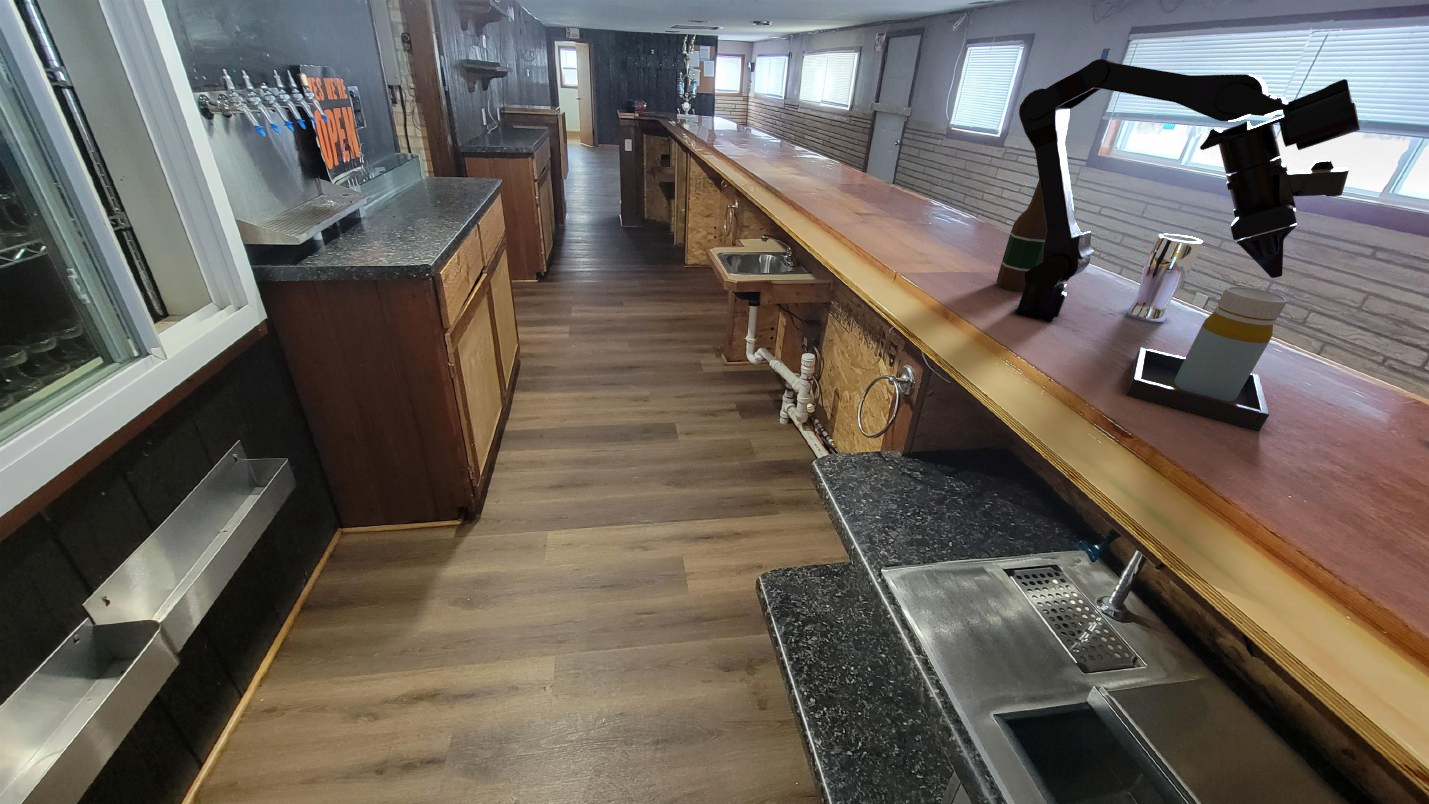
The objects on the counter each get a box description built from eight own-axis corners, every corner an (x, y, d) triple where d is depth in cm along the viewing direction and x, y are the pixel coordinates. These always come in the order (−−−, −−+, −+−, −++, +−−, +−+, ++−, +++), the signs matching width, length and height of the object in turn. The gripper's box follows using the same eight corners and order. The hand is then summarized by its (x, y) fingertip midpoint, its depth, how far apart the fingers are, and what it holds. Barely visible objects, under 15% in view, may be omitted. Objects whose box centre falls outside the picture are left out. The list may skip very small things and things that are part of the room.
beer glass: (1153, 311, 111) (1188, 234, 104) (1175, 324, 105) (1213, 244, 98) (1117, 309, 112) (1149, 232, 104) (1136, 321, 106) (1171, 241, 98)
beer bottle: (1036, 285, 123) (1075, 168, 111) (1032, 295, 117) (1073, 172, 105) (998, 278, 127) (1032, 164, 115) (992, 287, 121) (1028, 167, 109)
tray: (1126, 395, 79) (1133, 379, 78) (1133, 361, 90) (1140, 347, 89) (1259, 431, 72) (1269, 414, 71) (1250, 390, 82) (1259, 375, 81)
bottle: (1219, 390, 81) (1275, 289, 73) (1240, 413, 75) (1304, 307, 68) (1163, 381, 83) (1212, 282, 75) (1180, 403, 77) (1235, 298, 69)
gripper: (1340, 142, 68) (1366, 265, 70) (1332, 134, 80) (1355, 239, 82) (1218, 182, 76) (1245, 291, 79) (1228, 169, 89) (1251, 264, 91)
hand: (1277, 270), depth 82 cm, fingers open, 9 cm apart
